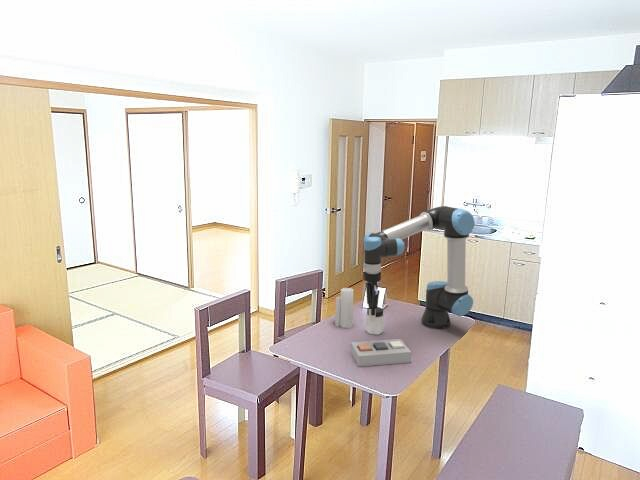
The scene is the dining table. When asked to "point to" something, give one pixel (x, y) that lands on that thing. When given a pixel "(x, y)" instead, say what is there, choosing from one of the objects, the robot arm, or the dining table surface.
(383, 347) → the charcoal key
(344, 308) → the grey stepped double column
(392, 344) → the ivory key
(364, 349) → the terracotta key
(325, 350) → the dining table surface
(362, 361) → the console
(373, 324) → the jar
